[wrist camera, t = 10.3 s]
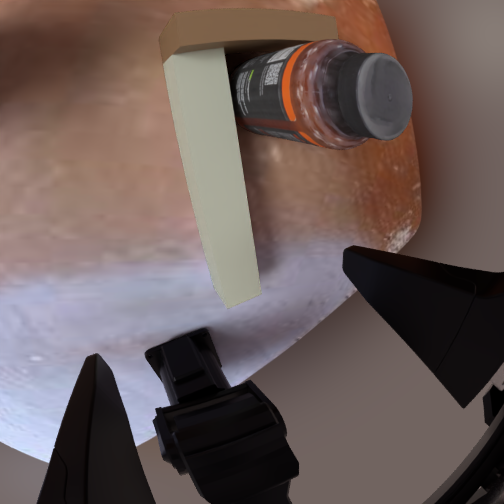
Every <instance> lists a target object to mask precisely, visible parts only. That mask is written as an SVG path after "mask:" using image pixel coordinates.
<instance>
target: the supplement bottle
mask: <svg viewBox="0 0 504 504" xmlns="http://www.w3.org/2000/svg"><path fill="white" fill-rule="evenodd" d="M229 85H230V91H231V98H232V104H233V111H234V117H235V121H236V122H237V123H238V124H239V125H240V126H241V127H243V128H244V129H246V130H248V131H251V132H253V133H257V134H260V135H266V136H271V137H277V138H282V139H287V140H292V141H297V142H302V143H307V144H312V145H315V146H321V147H325V148H329V149H338V150H346V149H351V148H354V147H357V146H359V145H361V144H363V143H364V142H366V141H367V140H368V139H369V138H375V139H379V140H392V139H395V138H396V137H398V136H399V135H400V134H401V133H402V132H403V131H404V129H405V128H406V127H407V125H408V122H409V120H410V116H411V111H412V101H413V98H412V91H411V86H410V81H409V79H408V77H407V74H406V73H405V70H404V69H403V67H402V66H401V65H400V63H399V62H398V61H397V60H396V59H395V58H393V57H391V56H390V55H387V54H384V53H365V52H364V51H363V50H362V49H360V48H359V47H358V46H355V45H354V44H352V43H350V42H346V41H344V40H338V39H325V40H320V41H315V42H309V43H305V44H301V45H297V46H293V47H289V48H286V49H282V50H278V51H275V52H271V53H268V54H264V55H261V56H258V57H255V58H252V59H250V60H247V61H245V62H244V63H242V64H241V65H239V66H238V67H237V68H236V69H235V70H234V71H233V73H232V75H231V76H230V78H229Z"/></svg>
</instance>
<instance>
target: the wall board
mask: <svg viewBox="0 0 504 504" xmlns="http://www.w3.org/2000/svg"><path fill="white" fill-rule="evenodd" d="M325 39H338V40H339V38H338V31H337V25H336V19H335V17H333V16H327V15H321V14H315V13H307V12H299V11H289V10H277V9H255V8H229V9H208V10H196V11H186V12H178V13H175V14H174V15H173V16H172V18H171V19H170V21H169V22H168V24H167V26H166V27H165V29H164V30H163V32H162V33H161V35H160V37H159V42H160V48H161V55H162V61H163V67H164V72H165V78H166V84H167V89H168V95H169V100H170V105H171V110H172V115H173V120H174V125H175V130H176V135H177V140H178V144H179V149H180V154H181V158H182V163H183V167H184V172H185V176H186V180H187V185H188V189H189V193H190V197H191V202H192V206H193V210H194V214H195V218H196V222H197V226H198V230H199V234H200V238H201V241H202V245H203V249H204V253H205V257H206V260H207V264H208V268H209V271H210V275H211V279H212V282H213V286H214V289H215V290H216V292H217V293H218V295H219V296H220V298H221V300H222V301H223V303H224V304H225V306H226V307H227V309H229V308H231V307H234V306H236V305H238V304H240V303H243V302H245V301H247V300H250V299H252V298H254V297H256V296H259V295H261V294H262V293H261V286H260V279H259V273H258V266H257V260H256V253H255V246H254V240H253V233H252V227H251V220H250V214H249V207H248V201H247V194H246V188H245V181H244V175H243V168H242V162H241V155H240V149H239V143H238V136H237V130H236V123H235V117H234V111H233V104H232V98H231V91H230V85H229V79H228V72H227V66H226V60H225V54H234V53H248V52H270V51H278V50H282V49H286V48H289V47H293V46H297V45H301V44H305V43H309V42H315V41H320V40H325Z"/></svg>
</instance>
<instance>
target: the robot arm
mask: <svg viewBox="0 0 504 504" xmlns="http://www.w3.org/2000/svg"><path fill="white" fill-rule="evenodd" d="M342 268H343V271H344V273H345V274H346V276H347V277H348V278H349V279H350V281H351V282H352V283H353V284H354V286H355V287H356V288H357V290H358V291H359V292H360V293H361V295H362V296H363V297H364V298H365V300H366V301H367V302H368V303H369V304H370V305H371V306H372V307H373V308H374V309H375V310H376V311H377V312H378V314H379V315H380V316H382V318H383V319H384V320H385V321H386V322H387V323H388V324H389V325H390V326H391V327H392V328H393V329H394V331H395V332H396V333H397V334H398V335H399V336H400V337H401V338H402V339H403V340H404V341H405V342H406V344H407V345H408V346H409V347H410V348H411V349H412V350H413V351H414V352H415V354H416V355H417V356H418V357H419V358H420V359H421V360H422V361H423V362H424V364H425V365H426V366H427V367H428V368H429V369H430V370H431V372H432V373H433V374H434V375H435V376H436V377H437V379H438V380H439V381H440V382H441V383H442V385H444V387H445V388H446V389H447V390H448V392H449V393H450V394H451V395H452V396H453V398H454V399H455V400H456V401H457V402H458V404H459V405H460V406H461V407H462V408H465V407H466V406H467V405H468V404H469V403H470V402H471V401H472V400H473V399H474V398H475V397H476V395H477V394H478V393H479V392H480V391H481V390H482V389H483V388H484V386H485V385H486V384H487V383H488V382H489V381H490V382H491V383H492V384H491V386H490V388H489V389H488V391H487V392H486V394H485V395H484V396H483V405H484V417H485V423H486V424H487V425H488V426H489V428H488V429H487V431H486V432H485V433H484V435H483V436H482V438H481V439H480V440H479V442H478V443H477V445H476V446H475V447H474V448H473V450H472V451H471V452H470V453H469V455H468V456H467V457H466V458H465V459H464V461H463V462H462V463H461V464H460V466H459V467H458V468H457V469H456V470H455V471H454V472H453V473H452V474H451V476H450V477H449V478H448V479H447V480H446V481H445V482H444V483H443V484H442V485H441V486H440V487H439V488H438V489H437V490H436V491H435V492H434V493H433V494H432V495H431V496H430V497H429V498H428V499H427V500H426V501H425V502H424V503H423V504H504V272H499V273H498V272H489V271H482V270H476V269H469V268H463V267H457V266H452V265H447V264H443V263H438V262H434V261H429V260H425V259H420V258H415V257H410V256H405V255H400V254H396V253H391V252H386V251H381V250H376V249H371V248H366V247H361V246H355V245H352V246H350V247H348V248H346V249H345V250H344V252H343V265H342ZM203 333H205V334H203ZM149 355H150V356H149ZM145 358H146V359H147V361H148V362H149V364H150V365H151V367H152V368H153V370H154V371H155V373H156V374H157V376H158V377H159V378H160V380H161V381H162V383H163V385H164V388H165V390H166V393H167V396H168V399H169V402H170V405H171V406H167V407H163V408H161V407H159V408H155V410H156V414H157V416H155V419H154V420H153V424H154V427H155V430H156V433H157V436H158V441H159V446H160V451H161V455H162V458H163V460H164V461H166V462H168V463H170V464H172V465H173V467H174V468H176V469H177V471H178V473H179V474H180V475H185V474H189V475H190V477H191V479H192V481H193V483H194V485H195V487H196V489H197V491H198V493H199V494H200V496H202V497H203V498H205V499H206V500H207V501H208V502H209V503H211V504H292V502H291V501H290V499H289V497H288V493H289V488H290V482H291V479H293V478H295V477H297V476H298V475H299V462H298V460H297V459H296V457H295V456H294V454H293V452H292V450H291V448H290V447H289V445H288V443H287V440H286V436H287V430H286V426H285V423H284V420H283V418H282V416H281V414H280V412H279V411H278V409H277V408H276V407H275V405H274V404H273V403H272V402H271V401H270V400H269V399H268V398H267V397H266V396H265V395H264V394H263V393H262V392H261V390H260V389H259V388H258V387H257V386H256V385H255V384H254V383H253V382H252V381H251V380H248V381H246V382H245V383H243V384H240V385H237V386H234V387H231V386H230V384H229V382H228V381H227V379H226V377H225V375H224V373H223V371H222V370H221V367H222V365H221V362H220V360H219V357H218V355H217V352H216V350H215V347H214V344H213V342H212V339H211V336H210V334H209V332H208V330H207V329H206V328H203V329H200V330H198V331H195V332H193V333H190V334H188V335H185V336H183V337H180V338H178V339H176V340H173V341H170V342H168V343H165V344H163V345H160V346H158V347H155V348H153V349H150V350H147V351H146V352H145ZM54 447H55V448H54V449H53V452H52V455H51V459H50V462H49V466H48V469H47V473H46V476H45V479H44V482H43V485H42V488H41V491H40V494H39V497H38V500H37V504H156V502H155V500H154V498H153V495H152V493H151V490H150V487H149V485H148V482H147V479H146V476H145V474H144V471H143V468H142V465H141V462H140V459H139V456H138V452H137V449H136V446H135V442H134V439H133V435H132V432H131V428H130V424H129V420H128V417H127V414H126V411H125V408H124V405H123V402H122V399H121V396H120V393H119V390H118V387H117V384H116V381H115V378H114V375H113V372H112V370H111V368H110V367H109V366H108V365H107V363H106V362H105V361H104V360H103V358H102V357H101V356H100V355H99V354H98V353H95V354H93V355H90V356H88V357H86V359H85V362H84V364H83V366H82V369H81V371H80V374H79V376H78V379H77V381H76V384H75V386H74V389H73V392H72V394H71V397H70V400H69V402H68V405H67V408H66V411H65V414H64V417H63V420H62V423H61V426H60V429H59V432H58V435H57V438H56V442H55V445H54ZM480 486H481V488H480V489H479V487H480ZM478 489H479V490H478Z"/></svg>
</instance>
